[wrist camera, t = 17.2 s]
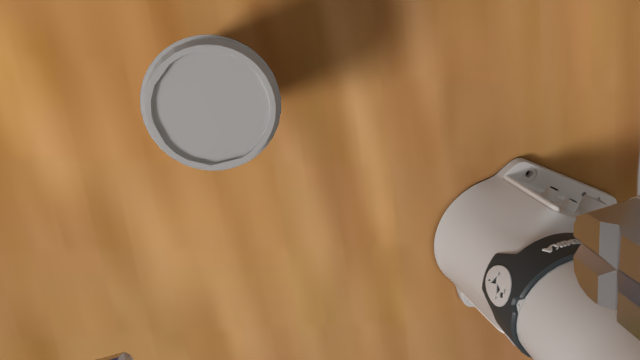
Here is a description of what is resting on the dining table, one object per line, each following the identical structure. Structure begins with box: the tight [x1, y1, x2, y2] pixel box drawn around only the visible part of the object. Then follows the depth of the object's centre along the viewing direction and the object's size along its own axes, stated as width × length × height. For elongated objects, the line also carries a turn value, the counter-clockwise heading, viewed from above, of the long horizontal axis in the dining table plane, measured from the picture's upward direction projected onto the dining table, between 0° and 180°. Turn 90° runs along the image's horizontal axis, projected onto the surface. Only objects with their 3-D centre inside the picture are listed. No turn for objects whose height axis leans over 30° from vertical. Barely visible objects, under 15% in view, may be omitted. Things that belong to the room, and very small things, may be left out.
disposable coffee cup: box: [140, 35, 281, 171], centre depth 37 cm, size 10×10×12 cm
